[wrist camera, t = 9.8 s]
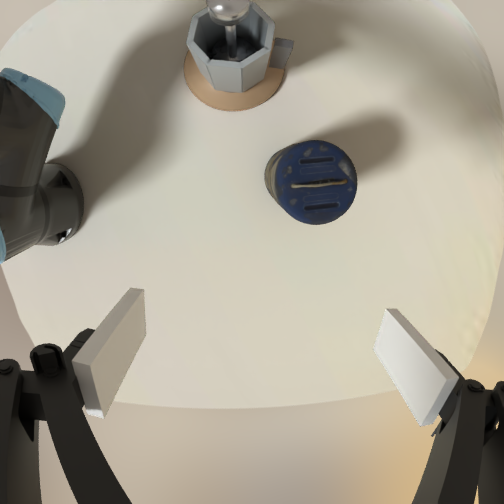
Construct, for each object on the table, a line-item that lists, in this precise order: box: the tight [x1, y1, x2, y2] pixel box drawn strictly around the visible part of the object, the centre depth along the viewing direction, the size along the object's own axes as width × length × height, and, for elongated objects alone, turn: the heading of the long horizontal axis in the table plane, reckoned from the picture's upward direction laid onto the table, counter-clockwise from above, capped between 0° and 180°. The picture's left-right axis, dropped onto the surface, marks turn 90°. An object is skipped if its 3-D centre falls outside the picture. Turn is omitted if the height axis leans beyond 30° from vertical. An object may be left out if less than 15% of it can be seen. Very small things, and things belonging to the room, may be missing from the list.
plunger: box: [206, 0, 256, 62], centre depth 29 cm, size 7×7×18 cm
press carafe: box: [184, 2, 294, 111], centre depth 35 cm, size 16×16×14 cm
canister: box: [265, 140, 357, 225], centre depth 38 cm, size 10×10×18 cm
